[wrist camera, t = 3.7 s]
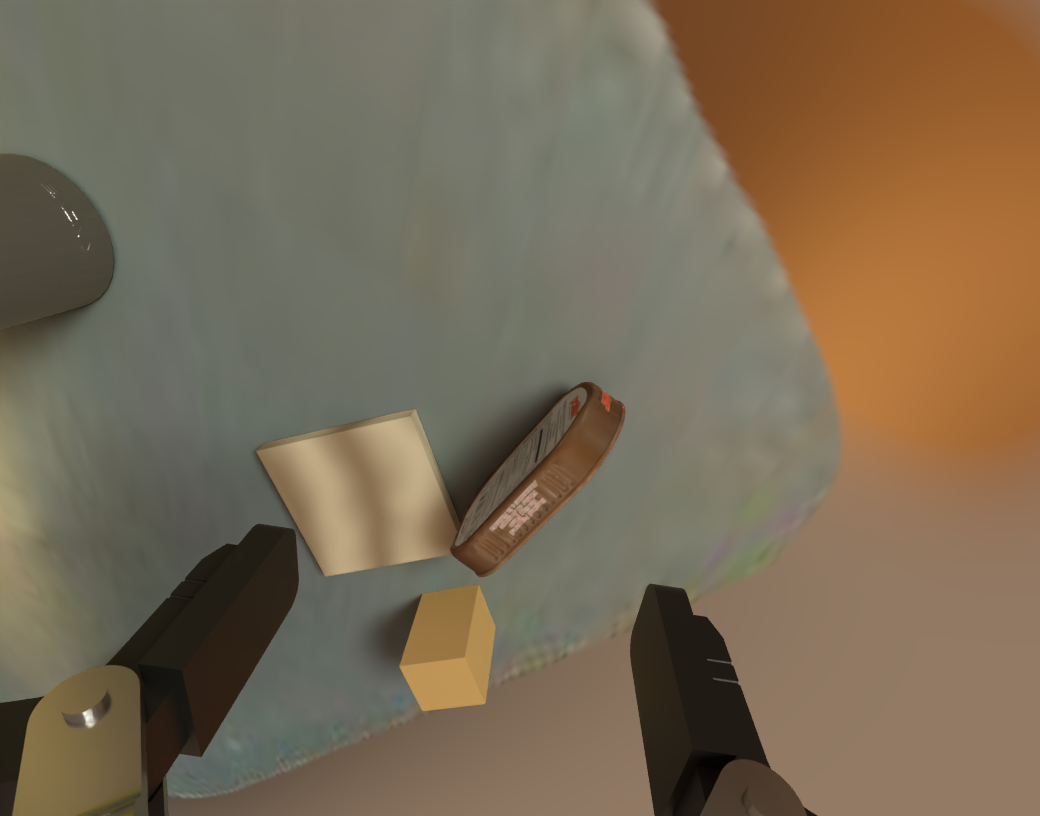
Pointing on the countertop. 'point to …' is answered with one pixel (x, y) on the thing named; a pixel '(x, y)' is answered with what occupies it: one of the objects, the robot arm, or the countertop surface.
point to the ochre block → (450, 649)
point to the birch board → (365, 493)
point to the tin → (538, 477)
